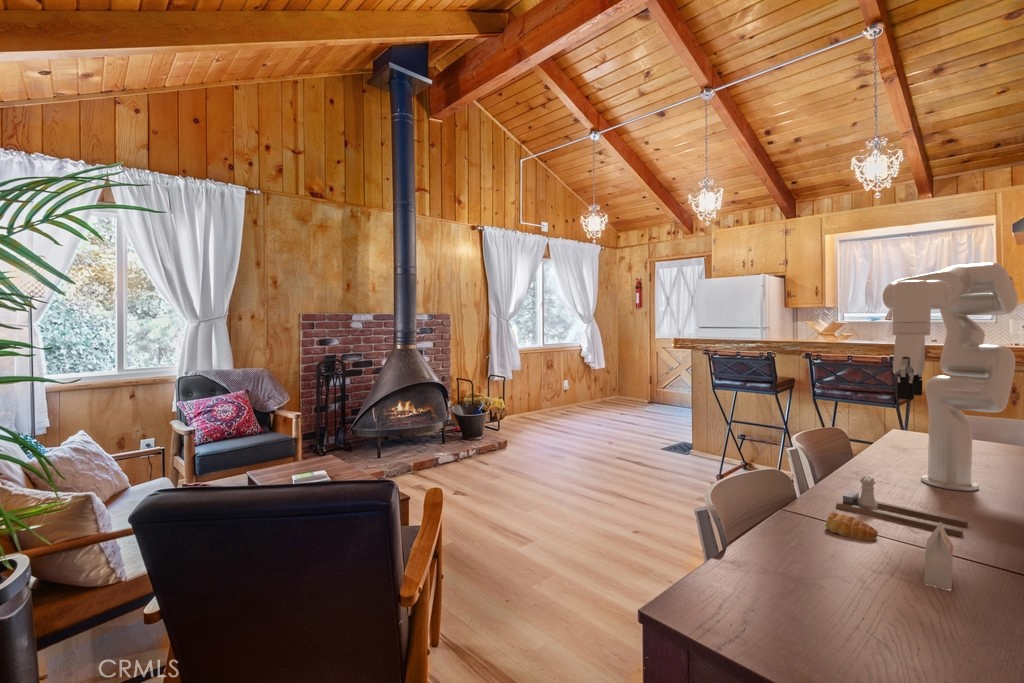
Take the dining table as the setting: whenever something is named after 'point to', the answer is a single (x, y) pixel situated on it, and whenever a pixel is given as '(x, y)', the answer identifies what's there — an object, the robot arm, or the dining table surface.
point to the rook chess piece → (867, 494)
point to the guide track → (909, 520)
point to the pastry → (850, 527)
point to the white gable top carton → (939, 559)
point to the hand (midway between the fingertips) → (909, 396)
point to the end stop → (851, 498)
